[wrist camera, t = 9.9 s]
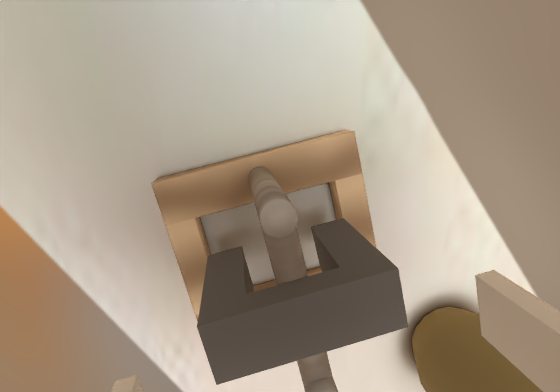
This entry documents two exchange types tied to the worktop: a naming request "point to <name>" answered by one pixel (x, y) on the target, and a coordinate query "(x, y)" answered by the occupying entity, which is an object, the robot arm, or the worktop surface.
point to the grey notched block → (298, 305)
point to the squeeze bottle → (462, 356)
